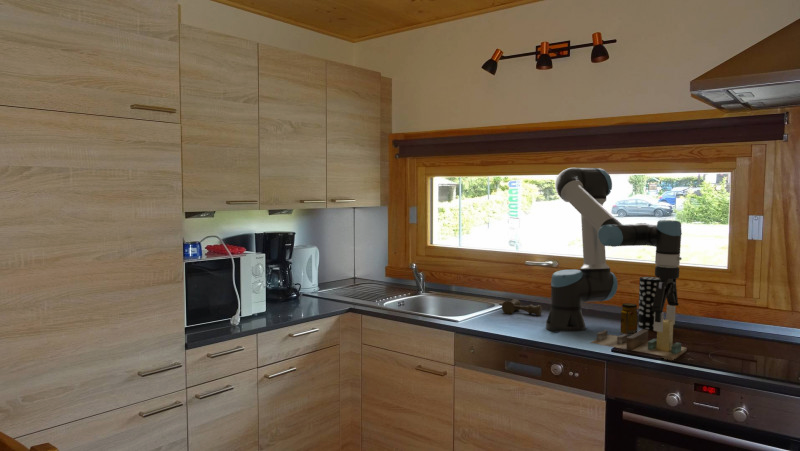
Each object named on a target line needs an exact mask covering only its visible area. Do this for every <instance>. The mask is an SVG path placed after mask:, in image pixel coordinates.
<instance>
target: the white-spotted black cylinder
mask: <svg viewBox="0 0 800 451" xmlns="http://www.w3.org/2000/svg"><path fill="white" fill-rule="evenodd" d="M660 280H661V279H660V278H659V277H656V276H640V277H639V287H638V288H639V289H638V291H639V292H638V326H637V328H638V327H639V328H640V329H644V330H650V331H654V312H653V311H652V307H653V302H654V297H655V292H656V283H657V282H660Z"/></svg>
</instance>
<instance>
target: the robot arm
mask: <svg viewBox="0 0 800 451" xmlns="http://www.w3.org/2000/svg"><path fill="white" fill-rule="evenodd" d="M554 186H555V191H556V194H557V195H558V196H559V198H560V199H561V200H562V201H564V202H566V203H569V204H570V205H572V207H573V208H574V209H576V211H577V212H578V213H579V214H580V218H581V238H582V239H581V240H582V256H583V264H582V266H580V268H579V269H562V270H557V271H555V272H553V273H552V275H551V280H550V286H551V288H550V289H551V290H550V291H551V292H550V311H549V313H548V316H547V319H546V323H545V329H547V331H550V332H555V333H560V332H582V331H584V330H586V322H585V319H584V315H583V313H582V303H588V302H590V303H591V302H600V303H602V302H604V301H609V300H611V299H613V297H614V296H615V295H616V293H617V291H618V284H619V283H618V279H617V277H616V274H614V273H613V272H612V271H611V267H610V266H609V265H608V264H607V261H606V247H613V248H614V247H627V246H628V247H629V246H631V247H632V246H634V247H637V246H648V247H655V260H654V261H655V262H654V264H655V267H654V277H657V278H660V279H661V280H660V282H657V283H656V292H655V297H654V302H653V307H652V311H653V312H654V330H653V332H657V331H658V332H663V319H664V308H665V304H666V301H667V304H666V313H665V314H666V315H665V320H672V321H673V326H674V325H675V324H676V308H677V307H678V306H679V304H680V303H679V300H678V289H677V280H678V279H679V277H680V267H679V266H680V262H681V260H683V259H682V257H681V248H682V247H681V243H682V235H683V232H682V223H681V222H680V221H679V220H671V219H661V220H660V219H659V220H658V221H657V224H650V223H645V222H644V223H642V222H640V223H635V224H634V223H633V224H632V223H631V224H630V223H629V224H624V223H621V222H620V221H619V220H618V219H617V218H616V217H615V216H614V215H613V214H612V213H611V212H609V211H608V210H607V209H606V208H605V207H604V204H605V202H607V196H609V195H610V194H611V192H612V191H611V190H612V189H613V181H612V177H611V175H610V174H609V173H608V172H607V171H606V170H605V169H603V168H596V167H569V168H566V169H563V170H562V171H561V172H560V173H559V174H558V175H557V176H556V179H555V182H554ZM676 306H677V307H676Z"/></svg>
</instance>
